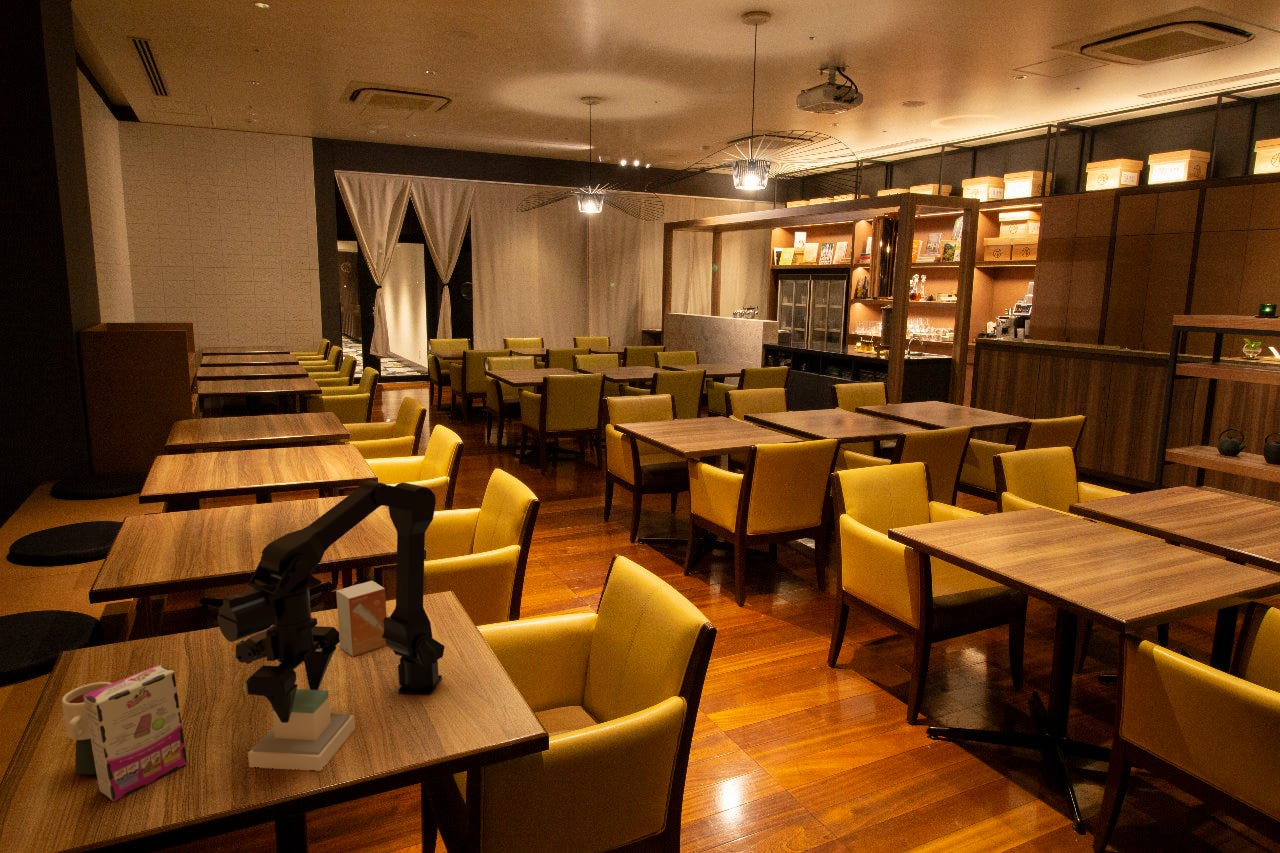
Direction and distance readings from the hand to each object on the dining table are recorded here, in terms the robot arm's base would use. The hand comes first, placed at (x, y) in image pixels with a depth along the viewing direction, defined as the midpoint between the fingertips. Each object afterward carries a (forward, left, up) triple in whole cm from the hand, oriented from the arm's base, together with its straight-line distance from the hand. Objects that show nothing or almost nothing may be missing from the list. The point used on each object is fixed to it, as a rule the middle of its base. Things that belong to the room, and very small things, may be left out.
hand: (300, 706), depth 128 cm
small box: (+6, -36, -8) cm, 37 cm away
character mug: (+30, +8, -8) cm, 32 cm away
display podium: (0, 0, -7) cm, 7 cm away
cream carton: (0, 0, -4) cm, 4 cm away
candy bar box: (+21, +10, -8) cm, 24 cm away
